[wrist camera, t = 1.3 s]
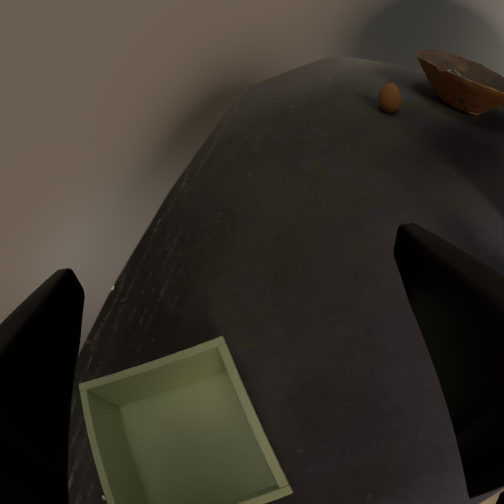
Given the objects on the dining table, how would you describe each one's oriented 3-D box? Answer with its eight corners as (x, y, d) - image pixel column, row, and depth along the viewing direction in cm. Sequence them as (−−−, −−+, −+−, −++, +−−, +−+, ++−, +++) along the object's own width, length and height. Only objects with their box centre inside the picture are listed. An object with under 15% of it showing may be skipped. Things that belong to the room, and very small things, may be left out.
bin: (290, 486, 18) (293, 492, 13) (151, 524, 16) (119, 534, 11) (234, 362, 24) (222, 335, 20) (112, 402, 22) (78, 383, 18)
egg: (386, 105, 51) (389, 77, 47) (404, 114, 49) (408, 86, 44) (371, 109, 50) (374, 80, 45) (390, 119, 47) (394, 89, 43)
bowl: (511, 116, 52) (520, 83, 44) (504, 149, 42) (519, 105, 34) (428, 77, 64) (432, 44, 56) (395, 96, 54) (401, 53, 46)
